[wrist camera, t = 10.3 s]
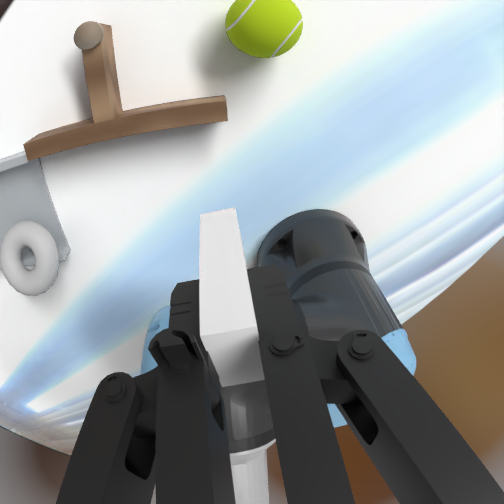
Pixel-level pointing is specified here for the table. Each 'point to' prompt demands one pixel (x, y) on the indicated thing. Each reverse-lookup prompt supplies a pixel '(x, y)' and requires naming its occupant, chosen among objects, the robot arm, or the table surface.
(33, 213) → the tray
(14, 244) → the donut
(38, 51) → the table surface
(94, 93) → the t rack
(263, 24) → the tennis ball
